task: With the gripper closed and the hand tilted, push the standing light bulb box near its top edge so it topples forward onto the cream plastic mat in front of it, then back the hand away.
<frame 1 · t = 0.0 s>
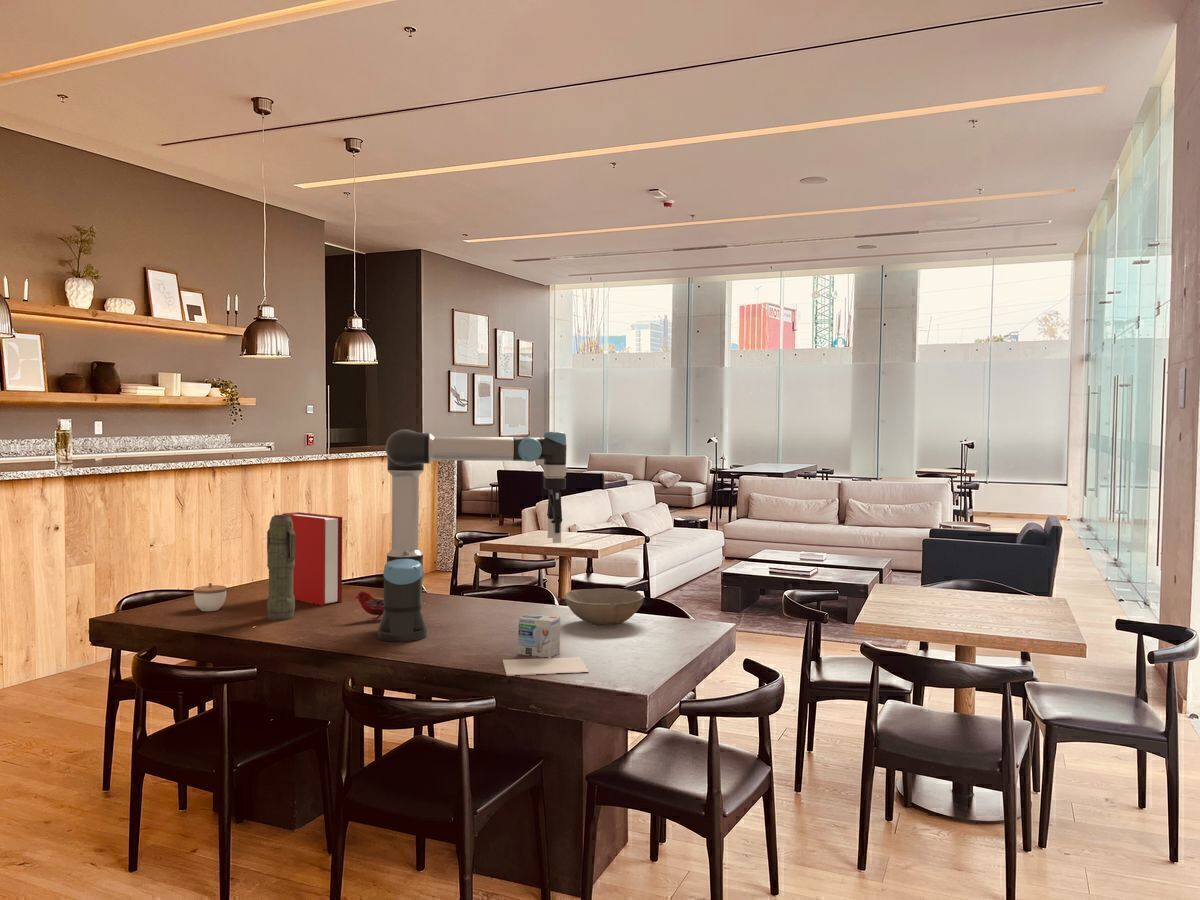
hand: (554, 540, 296), 28 cm above the table, tool pointing down, fingers open, 13 cm apart
book: (310, 600, 333), on the table
light bulb box: (539, 654, 256), on the table
lidded jar: (210, 610, 312), on the table
stone statue: (281, 618, 300), on the table
decorative bird figurine: (381, 620, 299), on the table
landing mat: (544, 666, 241), on the table
bowl: (603, 624, 297), on the table
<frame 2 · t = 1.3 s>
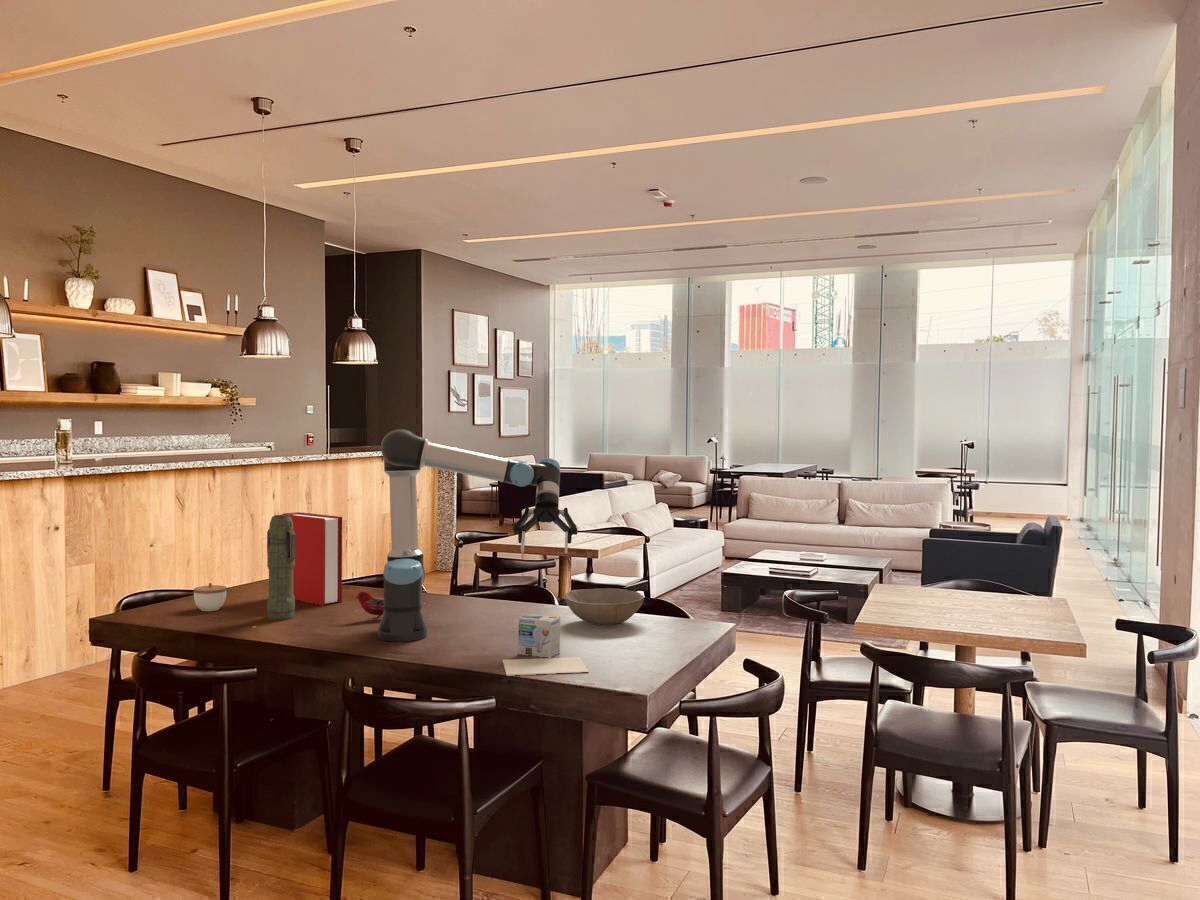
hand: (544, 550, 273), 28 cm above the table, tool tilted 45°, fingers open, 13 cm apart
nothing on the table moved.
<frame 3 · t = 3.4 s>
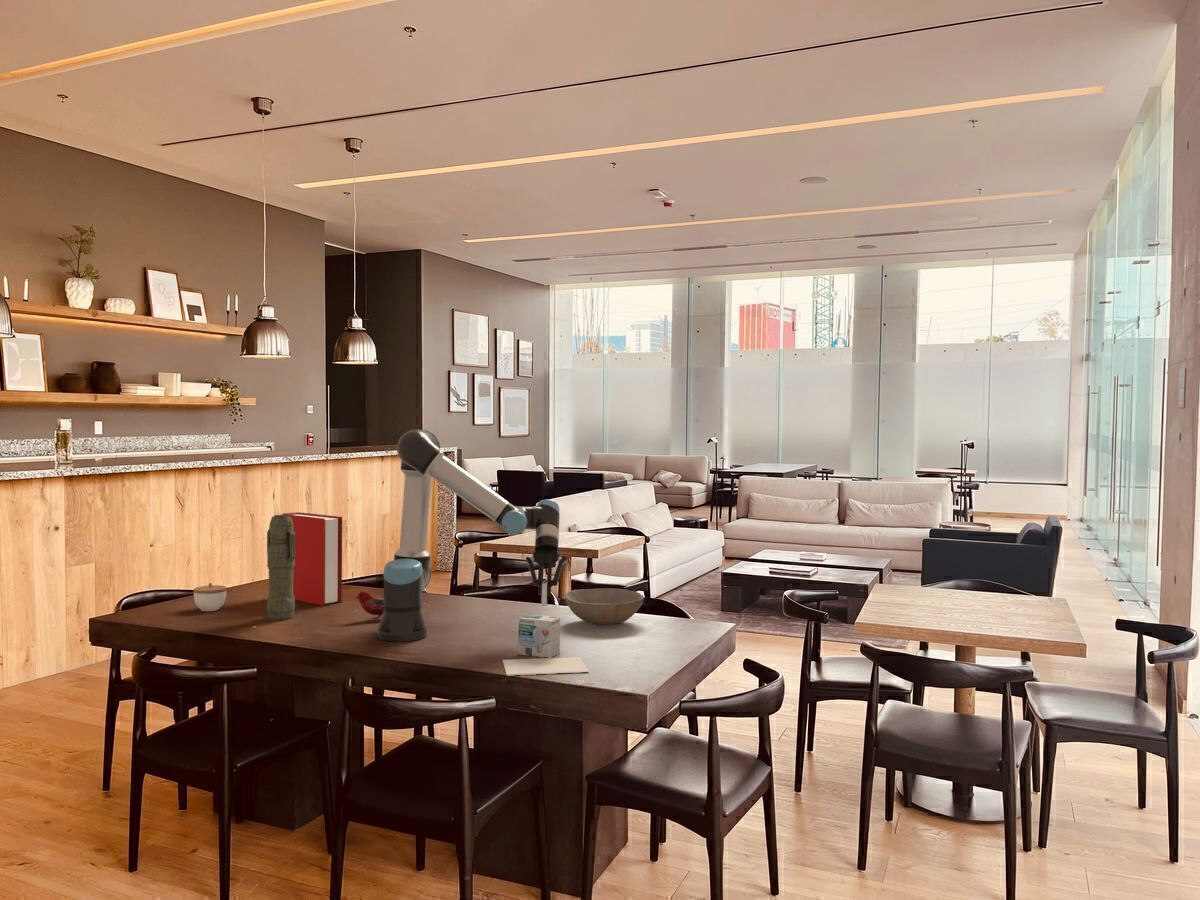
hand: (544, 603, 266), 13 cm above the table, tool tilted 45°, fingers closed
nothing on the table moved.
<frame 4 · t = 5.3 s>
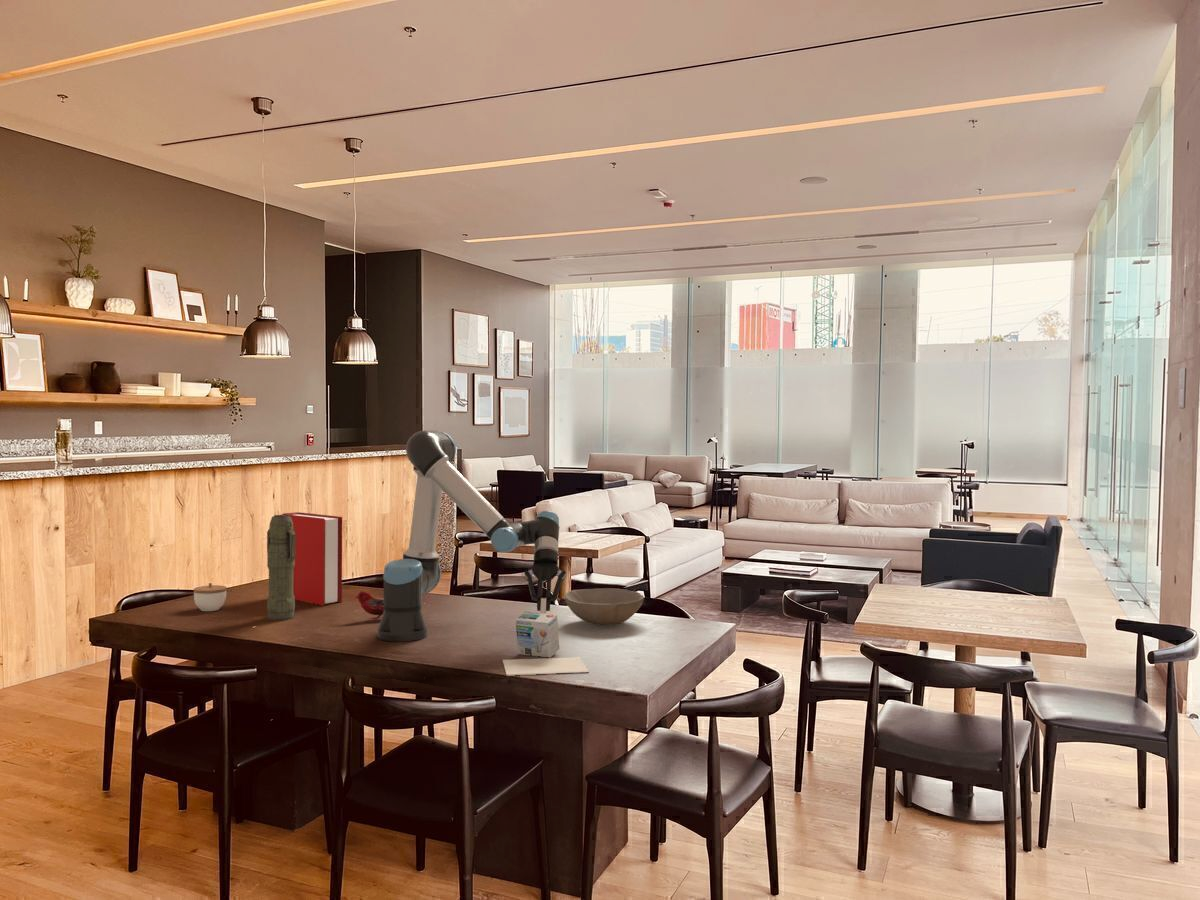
hand: (542, 619, 258), 9 cm above the table, tool tilted 45°, fingers closed
light bulb box: (539, 652, 256), on the table, touching gripper
everything else where it was.
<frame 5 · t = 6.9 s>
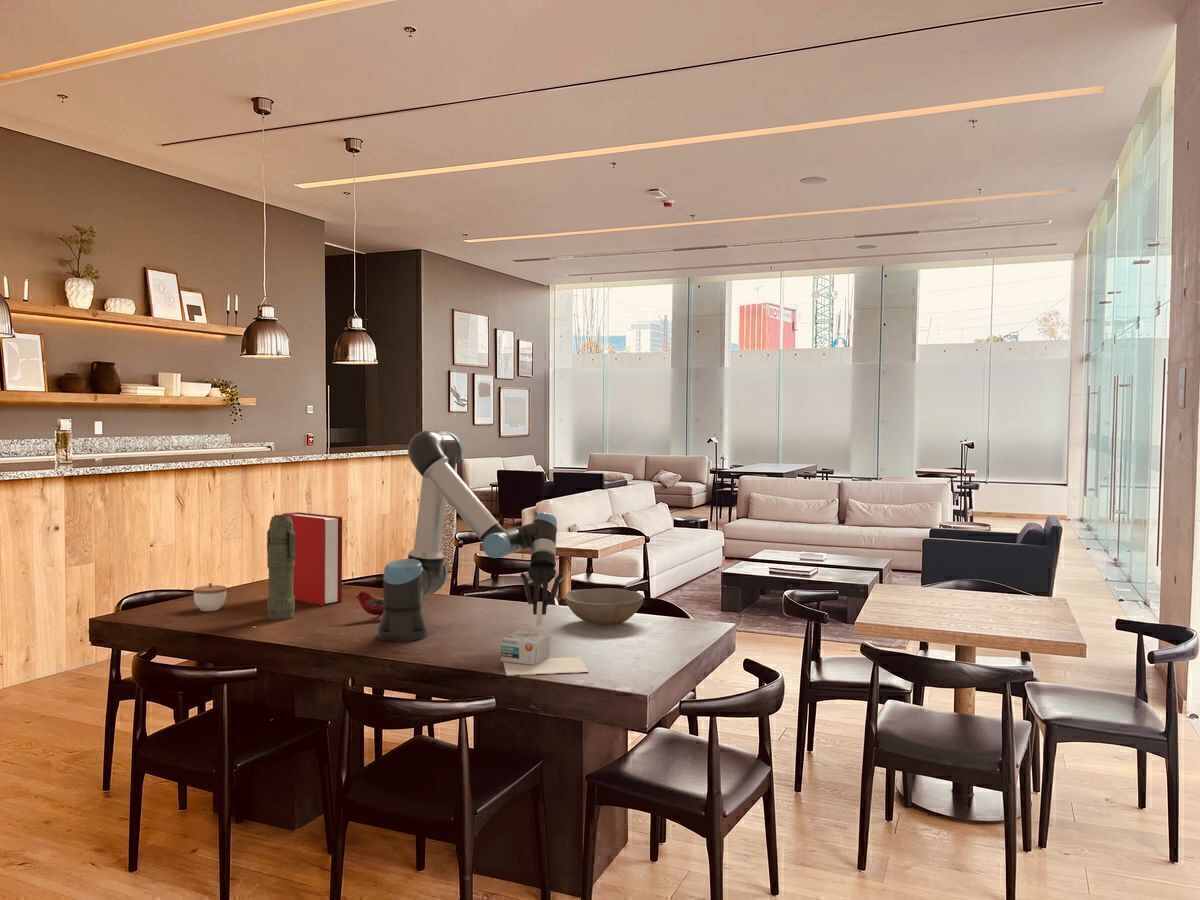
hand: (538, 623, 253), 10 cm above the table, tool tilted 45°, fingers closed
light bulb box: (534, 643, 253), point 4 cm above the table, touching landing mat
everything else where it was.
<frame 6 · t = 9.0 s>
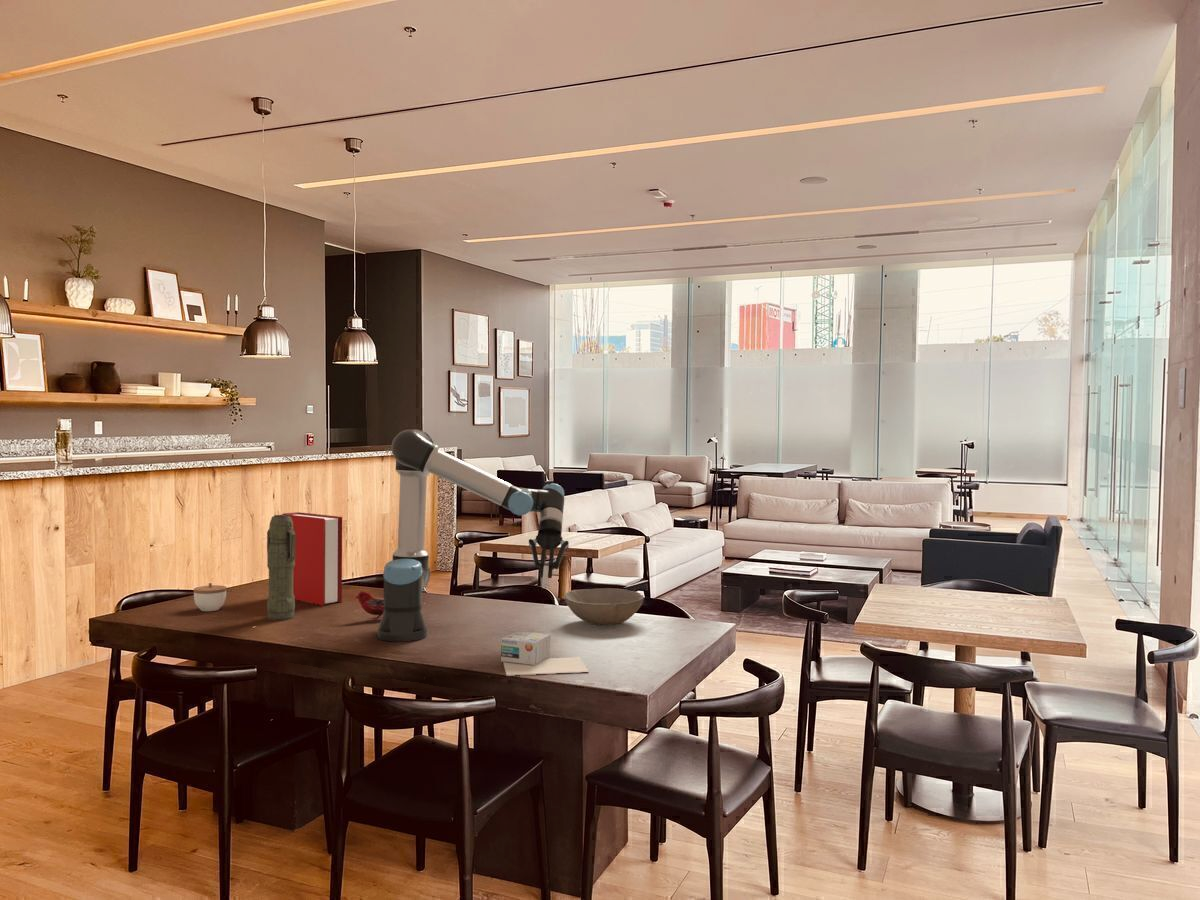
hand: (544, 585, 267), 18 cm above the table, tool tilted 45°, fingers closed
nothing on the table moved.
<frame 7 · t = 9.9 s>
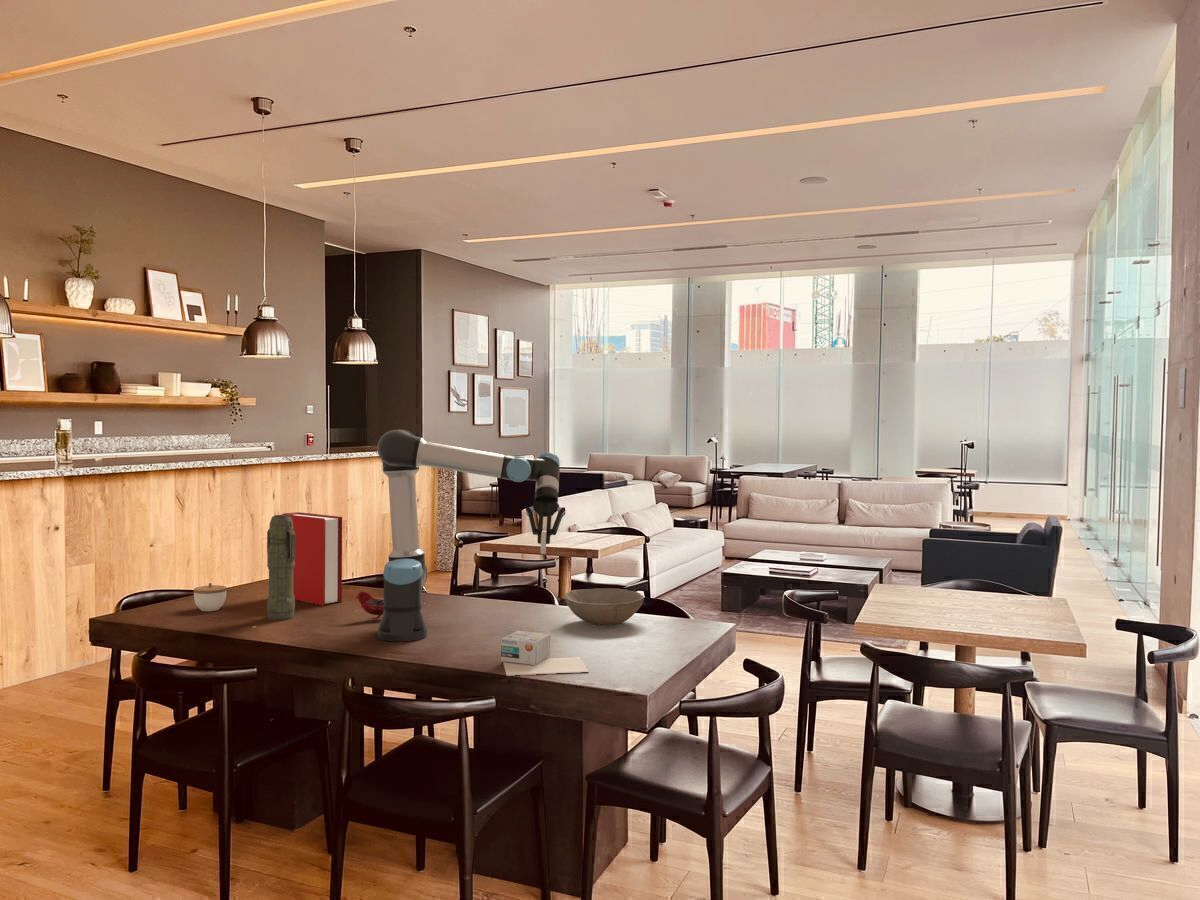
hand: (543, 551, 269), 28 cm above the table, tool tilted 45°, fingers closed
nothing on the table moved.
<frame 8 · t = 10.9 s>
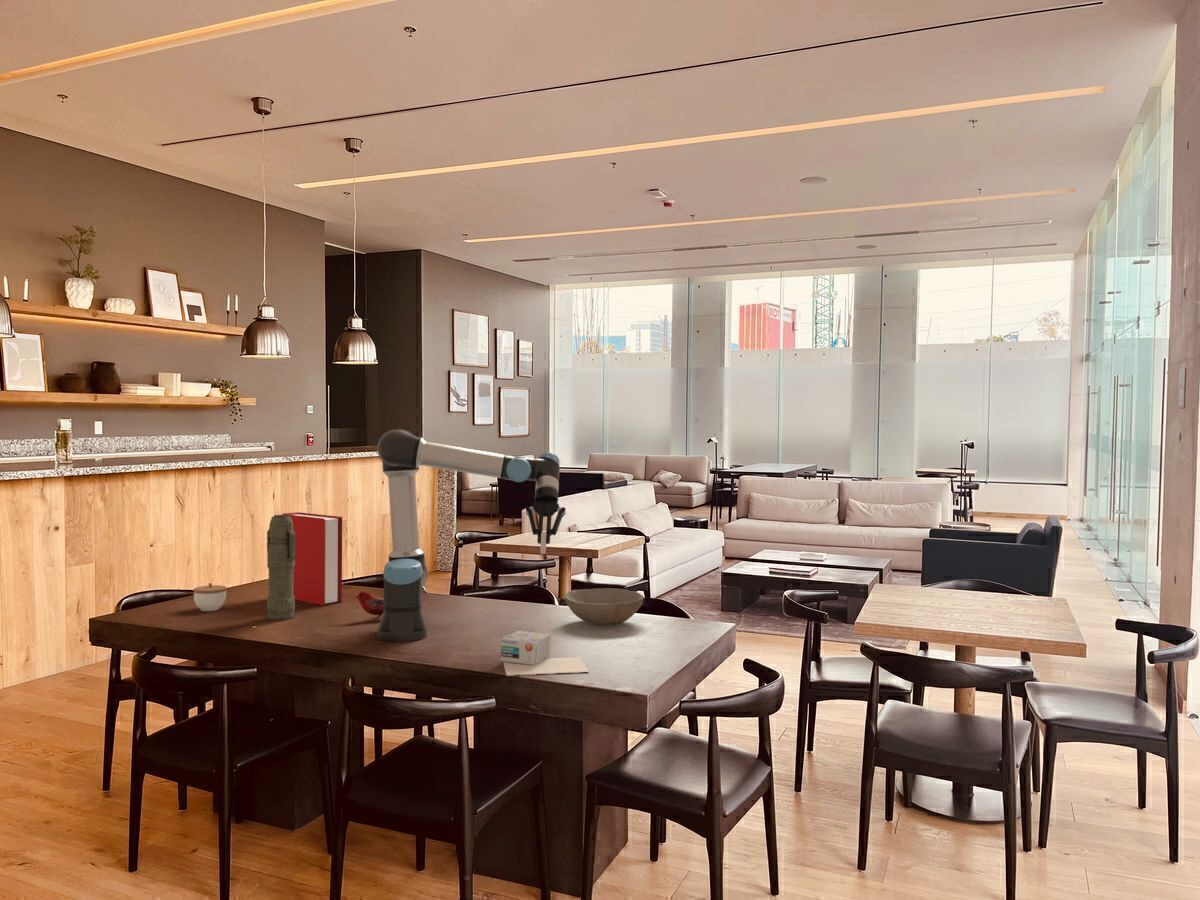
hand: (543, 551, 269), 28 cm above the table, tool tilted 45°, fingers closed
nothing on the table moved.
at the end: light bulb box tilted 91°; light bulb box inside the target area (5.7 cm from its centre), point 3.8 cm above the table; the gripper is holding nothing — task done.
